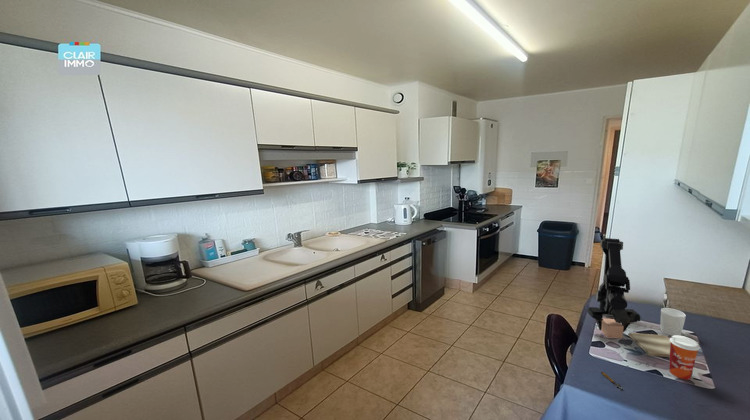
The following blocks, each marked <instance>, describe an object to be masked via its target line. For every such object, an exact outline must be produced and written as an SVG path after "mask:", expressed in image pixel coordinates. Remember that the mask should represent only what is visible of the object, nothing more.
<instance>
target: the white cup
mask: <svg viewBox="0 0 750 420" xmlns="http://www.w3.org/2000/svg"><path fill="white" fill-rule="evenodd" d="M686 316H687V315H686V314H685V313H684V312H683V311H681V310H679V309H676V308H669V307H662V308H661V309H660V320H659V321H660V328H659V329H660V331H661V332H662V334H663V333H664V334H665V335H668V336H671V337H672V336H674V335H680V336H682V333H683V332H682V331H683V330H684V325H685V322H686Z"/></svg>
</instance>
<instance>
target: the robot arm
mask: <svg viewBox="0 0 750 420" xmlns="http://www.w3.org/2000/svg"><path fill="white" fill-rule="evenodd" d="M600 247H601V250H602V252H603V253H604V267H603V268H604V269H603V282H602V283H601V284H600V285H599V287H598V290H597V291H596V295H595V298H596V299H595V300H596V302H598V303H599V305H598V307H595V306H588V308H586V312H587V314H588V315H589V316H590V317H591V318H592V319H594V320H595V322H596V325H597V327H598V330H599V331H601V328H602V321H603V319H604V318H603V317H604V316H609V317H610V316H611V317H612V318H613V319H614V320H615V321H616V322H617V323H620V324H622V325H623V326H624V328H623V333H625V332H626V330H627V328H628V327H629V326H630V325H631V324H633V323H637V322H641V320H642V317H641V315H640V314H639V313H638V312H637V311H635V310H634V309H631V308H627V307H628V302H627V299H626V296H625V293H627V294H629V291H630V290H631V283H630V279H629V277H628V276H627V272H626V271H625V269H624V268H623V267H622V259H621V258H622V257H621V250H624V242H623V241H621V240H620V239H619V238H610V237H604V238H603V239H601V240H600ZM602 318H603V319H602Z"/></svg>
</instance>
